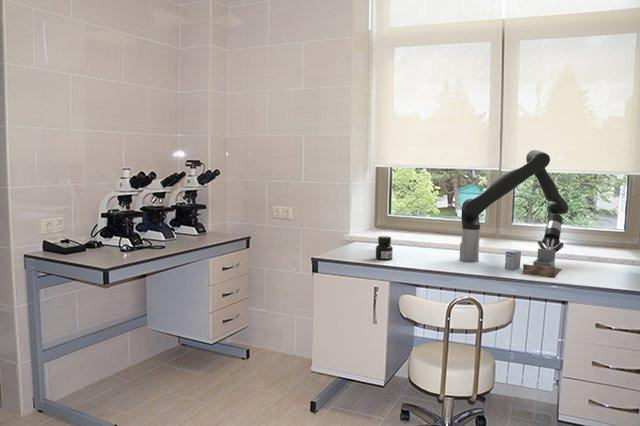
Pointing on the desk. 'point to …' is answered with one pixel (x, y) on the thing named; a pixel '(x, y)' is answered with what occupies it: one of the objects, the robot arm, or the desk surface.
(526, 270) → the backstop
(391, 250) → the ink bottle
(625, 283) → the desk surface
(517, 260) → the medicine box
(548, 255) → the grey open lidded box
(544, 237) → the robot arm
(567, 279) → the desk surface
